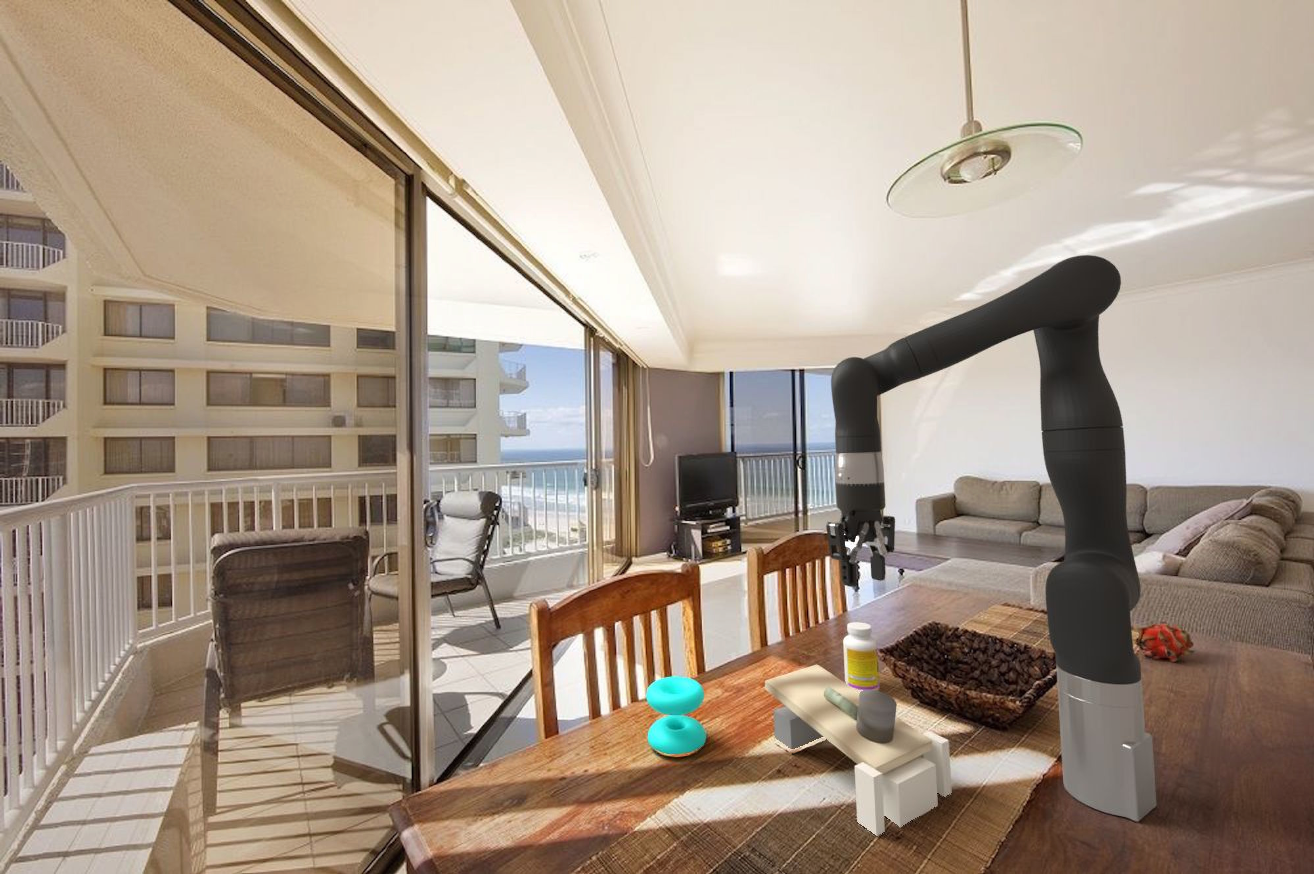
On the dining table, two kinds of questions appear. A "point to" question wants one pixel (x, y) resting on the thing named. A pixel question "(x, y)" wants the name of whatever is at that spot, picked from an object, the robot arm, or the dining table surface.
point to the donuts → (676, 715)
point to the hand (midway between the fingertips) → (864, 582)
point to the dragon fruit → (1164, 641)
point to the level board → (850, 718)
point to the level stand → (883, 777)
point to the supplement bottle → (860, 657)
